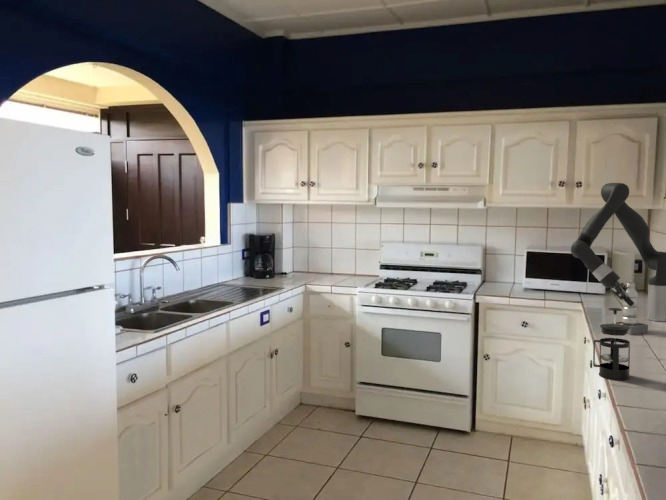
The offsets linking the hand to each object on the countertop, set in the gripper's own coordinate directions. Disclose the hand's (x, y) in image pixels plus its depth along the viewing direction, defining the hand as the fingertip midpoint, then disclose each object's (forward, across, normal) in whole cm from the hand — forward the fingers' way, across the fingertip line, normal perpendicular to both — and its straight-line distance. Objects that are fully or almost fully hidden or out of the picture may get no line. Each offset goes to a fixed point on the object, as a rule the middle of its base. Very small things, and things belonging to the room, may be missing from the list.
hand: (634, 303), depth 249 cm
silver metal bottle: (+7, 0, +9) cm, 11 cm away
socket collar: (+8, 0, +10) cm, 13 cm away
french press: (+15, -74, +3) cm, 75 cm away
